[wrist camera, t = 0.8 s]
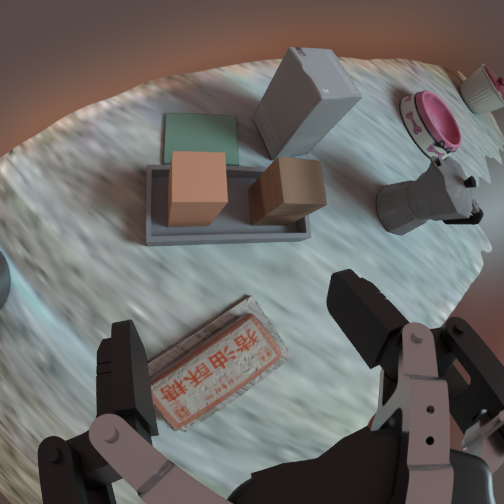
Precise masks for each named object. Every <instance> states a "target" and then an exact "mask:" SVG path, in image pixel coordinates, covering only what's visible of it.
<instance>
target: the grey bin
mask: <svg viewBox="0 0 504 504" xmlns="http://www.w3.org/2000/svg"><path fill="white" fill-rule="evenodd" d="M266 169H267V168H261V167H244V166H226V178H227V194H228V203H227V204H226V205H225V206H224V208H223V209H222V210H221V211H220V213H219V214H218V215H217V217H216V218H215V219H214V220H213V222H212V223H211V224H210V225H209V227H171V228H168V181H169V173H170V165H147V180H146V244H147V246H171V245H199V244H229V243H262V242H297V241H303V240H306V239H308V238H311V231H310V223H309V214H308V215H306V216H304V217H303V218H301V219H299V220H297V221H295V222H293V223H291V224H289V225H287V226H251V217H250V204H249V192H248V189H249V188H250V186H251V185H252V184H253V183H254V182H255V181H256V180H257V179H258V178H259V177H260V176H261V174H262V173H263V172H264V171H265V170H266Z"/></svg>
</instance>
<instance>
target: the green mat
mask: <svg viewBox="0 0 504 504" xmlns="http://www.w3.org/2000/svg"><path fill="white" fill-rule="evenodd" d="M173 151H192V152H222V153H225V160H226V166H239V156H238V143H237V129H236V117H235V116H223V115H208V114H186V113H166V127H165V148H164V165H171V158H172V152H173Z"/></svg>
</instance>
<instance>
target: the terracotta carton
mask: <svg viewBox="0 0 504 504" xmlns="http://www.w3.org/2000/svg"><path fill="white" fill-rule="evenodd" d="M227 203H228V194H227V178H226V160H225V153H222V152H192V151H173V152H172V158H171V165H170V173H169V181H168V228H171V227H209V225H210V224H211V223H212V222H213V220H214V219H215V218H216V217H217V215H218V214H219V213H220V211H221V210H222V209H223V208H224V206H225V205H226V204H227Z"/></svg>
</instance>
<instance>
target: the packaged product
mask: <svg viewBox="0 0 504 504" xmlns="http://www.w3.org/2000/svg"><path fill="white" fill-rule="evenodd" d="M291 357H292V354H291V353H290V351H289V350H288V348H287V347H286V345H285V344H284V342H283V341H282V339H281V338H280V336H279V335H278V333H277V332H276V330H275V329H274V327H273V326H272V324H271V323H270V321H269V320H268V318H267V317H266V315H265V314H264V312H263V311H262V309H261V308H260V306H259V305H258V303H257V302H256V301H255V299H254V297H253V296H252V295H251V296H249V297H248V298H246V299H245V300H243V301H241V302H240V303H238V304H237V305H235V306H234V307H232V308H231V309H229V310H228V311H226V312H225V313H223V314H222V315H221V316H219V317H218V318H217V319H215V320H214V321H212V322H211V323H209V324H208V325H206V326H205V327H203V328H202V329H200V330H199V331H197V332H196V333H195V334H193V335H191V336H189V337H188V338H186V339H184V340H183V341H181V342H180V343H178V344H177V345H175V346H174V347H173V348H172V349H170V350H169V351H167V352H165V353H164V354H162V355H160V356H159V357H157V358H155V359H154V360H152V361H151V362H150V363H148V371H149V378H150V386H151V393H152V399H153V406H154V409H155V410H156V411H157V412H158V413H159V414H161V415H162V416H163V418H164V419H165V421H166V422H167V423H169V425H170V426H171V428H172V429H173V430H174V431H177V430H179V431H182V432H186V431H187V430H188V429H190V428H192V427H193V426H195V425H196V424H198V423H200V422H202V421H203V420H204V419H206V418H208V417H209V416H211V415H212V414H214V413H215V412H217V411H219V410H220V409H221V408H223V407H224V406H226V405H227V404H229V403H231V402H232V401H233V400H235V399H236V398H237V397H239V396H240V395H242V394H243V393H245V392H246V391H247V390H249V389H250V388H252V387H253V386H254V385H256V384H257V383H258V382H260V381H261V380H263V379H264V378H265V377H267V376H268V375H269V374H271V373H272V372H273V371H275V370H276V369H277V368H278V367H280V366H281V365H282V364H283V363H285V362H286V361H287V360H288V359H290V358H291Z"/></svg>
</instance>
